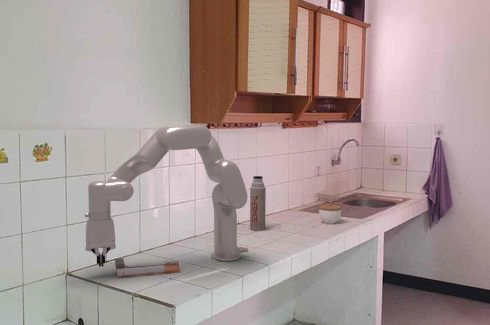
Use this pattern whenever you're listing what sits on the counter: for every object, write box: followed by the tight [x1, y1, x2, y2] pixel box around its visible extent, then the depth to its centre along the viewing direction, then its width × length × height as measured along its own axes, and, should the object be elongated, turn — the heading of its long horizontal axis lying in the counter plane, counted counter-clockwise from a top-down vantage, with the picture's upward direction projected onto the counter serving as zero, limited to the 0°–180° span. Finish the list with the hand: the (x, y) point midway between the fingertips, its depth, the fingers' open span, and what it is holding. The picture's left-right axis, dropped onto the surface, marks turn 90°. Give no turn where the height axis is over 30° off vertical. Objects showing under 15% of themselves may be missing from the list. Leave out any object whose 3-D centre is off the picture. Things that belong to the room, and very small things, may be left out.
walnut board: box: [115, 264, 182, 279], centre depth 190 cm, size 23×15×1 cm, turn 108°
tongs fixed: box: [116, 264, 178, 278], centre depth 187 cm, size 22×7×3 cm, turn 108°
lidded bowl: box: [318, 202, 343, 225], centre depth 278 cm, size 13×13×11 cm
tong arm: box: [127, 260, 180, 269], centre depth 189 cm, size 19×3×2 cm, turn 107°
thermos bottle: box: [249, 175, 267, 232], centre depth 260 cm, size 8×8×28 cm
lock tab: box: [114, 258, 126, 270], centre depth 184 cm, size 3×7×2 cm, turn 18°
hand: (101, 265), depth 182 cm, fingers closed
